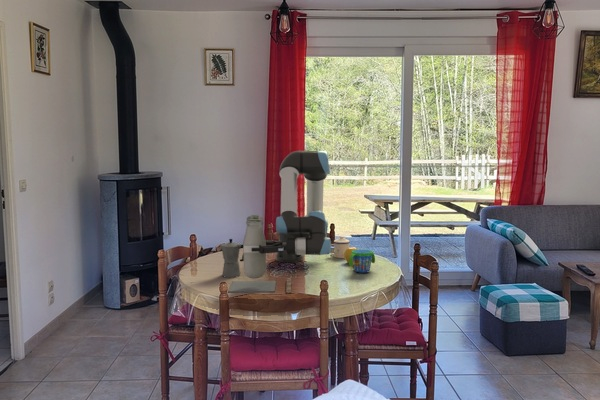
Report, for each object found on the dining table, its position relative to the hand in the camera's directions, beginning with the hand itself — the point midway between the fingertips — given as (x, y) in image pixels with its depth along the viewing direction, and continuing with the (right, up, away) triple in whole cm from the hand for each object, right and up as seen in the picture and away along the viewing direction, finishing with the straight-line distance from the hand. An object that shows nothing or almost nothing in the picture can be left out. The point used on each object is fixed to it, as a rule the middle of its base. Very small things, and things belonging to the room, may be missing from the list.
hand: (245, 246), depth 216 cm
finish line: (+19, -18, +2) cm, 27 cm away
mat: (+3, -18, +3) cm, 19 cm away
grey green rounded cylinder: (+4, -14, +2) cm, 15 cm away
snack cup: (+55, -15, +28) cm, 63 cm away
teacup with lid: (+46, -12, +61) cm, 78 cm away
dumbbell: (+53, -14, +40) cm, 68 cm away
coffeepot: (-8, -16, +23) cm, 29 cm away
